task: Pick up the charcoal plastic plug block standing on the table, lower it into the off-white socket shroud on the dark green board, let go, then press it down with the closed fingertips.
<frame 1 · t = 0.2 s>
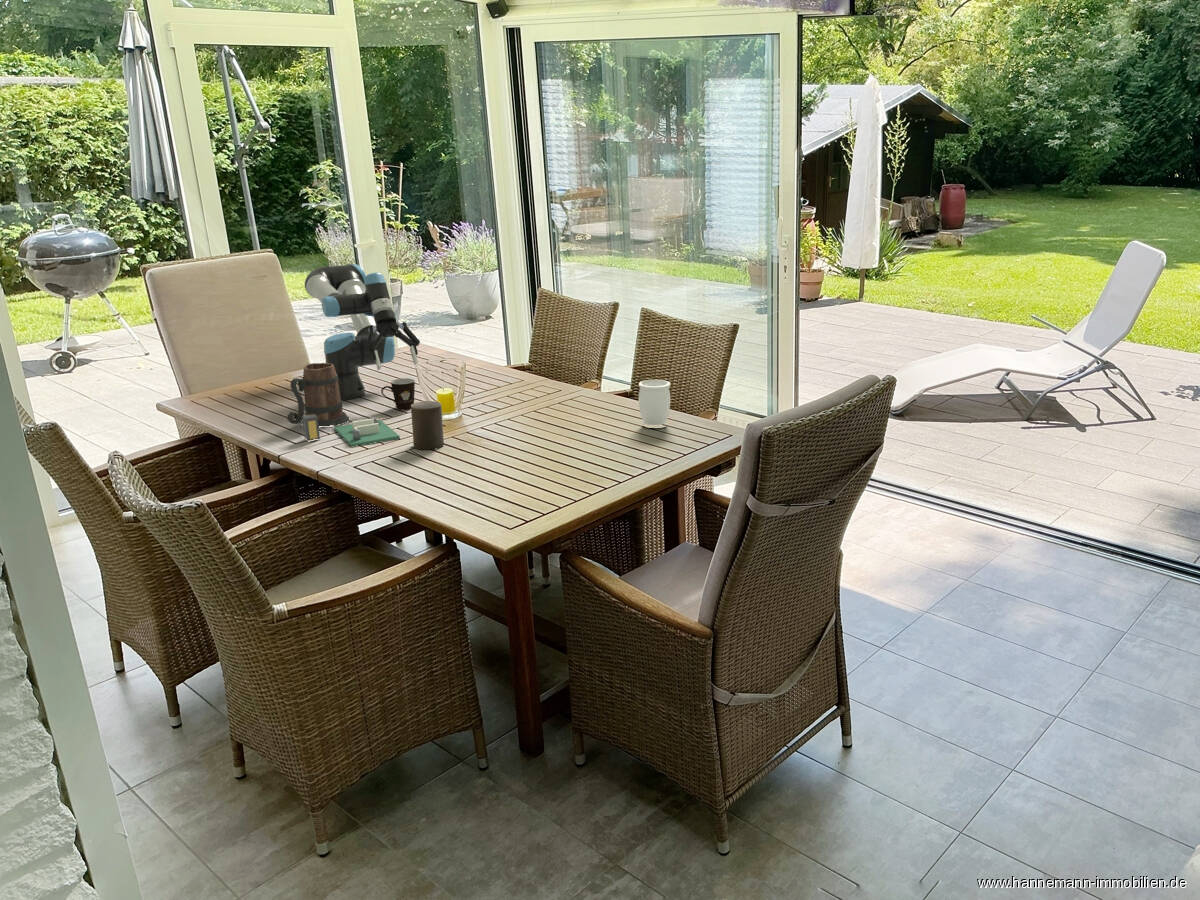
hand: (397, 365, 350), 16 cm above the table, tool tilted 35°, fingers open, 13 cm apart
jar: (654, 426, 326), on the table
tankard: (318, 423, 338), on the table
board: (366, 434, 325), on the table
plug: (312, 439, 321), on the table
pillar candle: (429, 446, 312), on the table
coffee mug: (401, 408, 355), on the table
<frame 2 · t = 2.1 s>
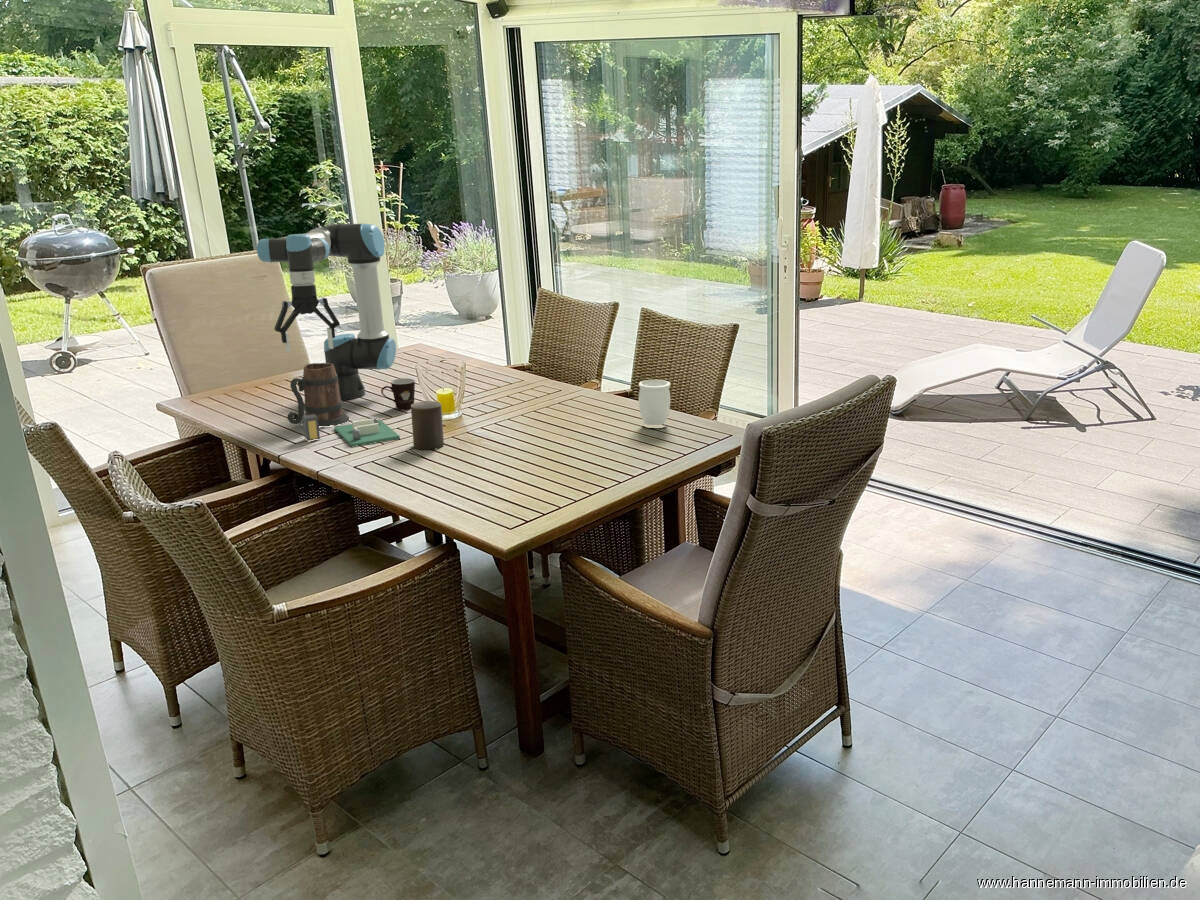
hand: (310, 350, 313), 30 cm above the table, tool pointing down, fingers open, 13 cm apart
nothing on the table moved.
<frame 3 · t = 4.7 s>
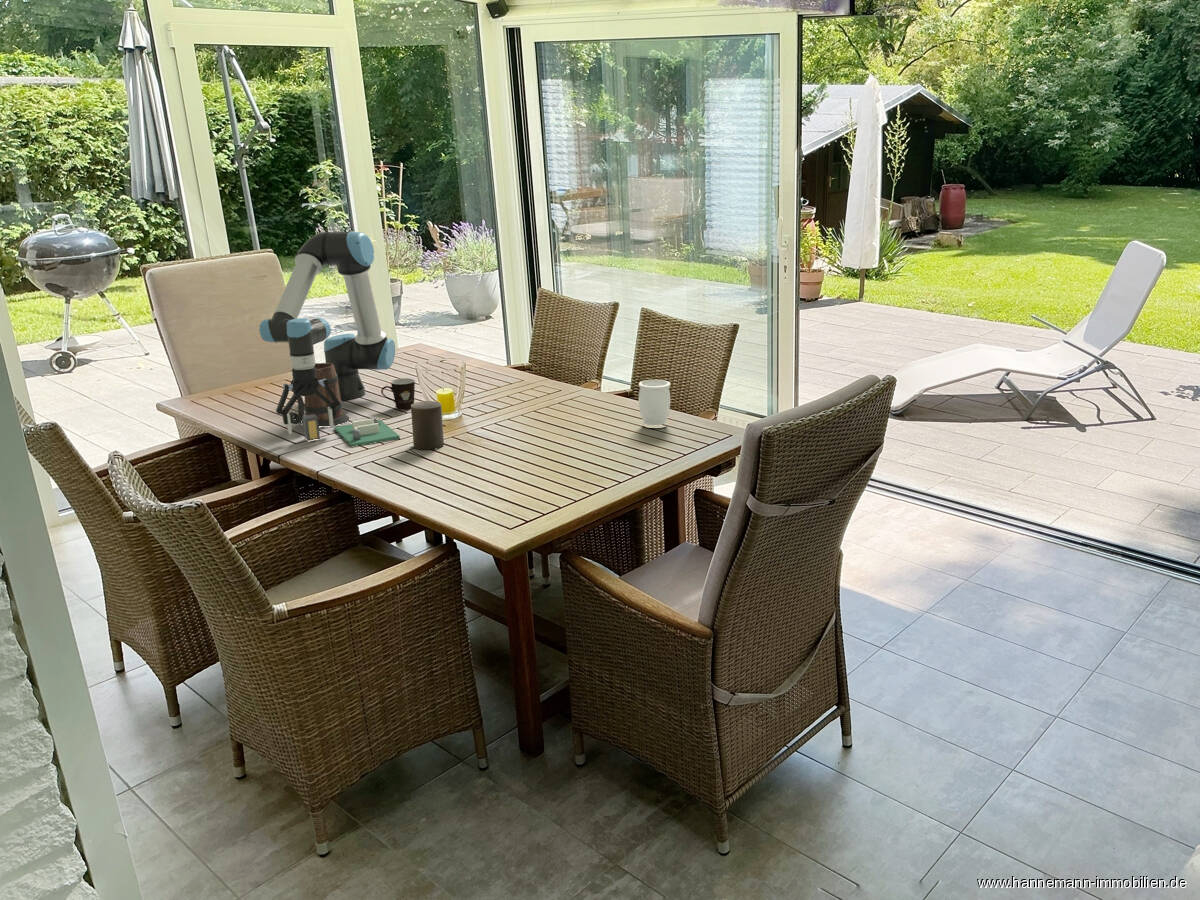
hand: (311, 430, 319), 3 cm above the table, tool pointing down, fingers open, 13 cm apart
nothing on the table moved.
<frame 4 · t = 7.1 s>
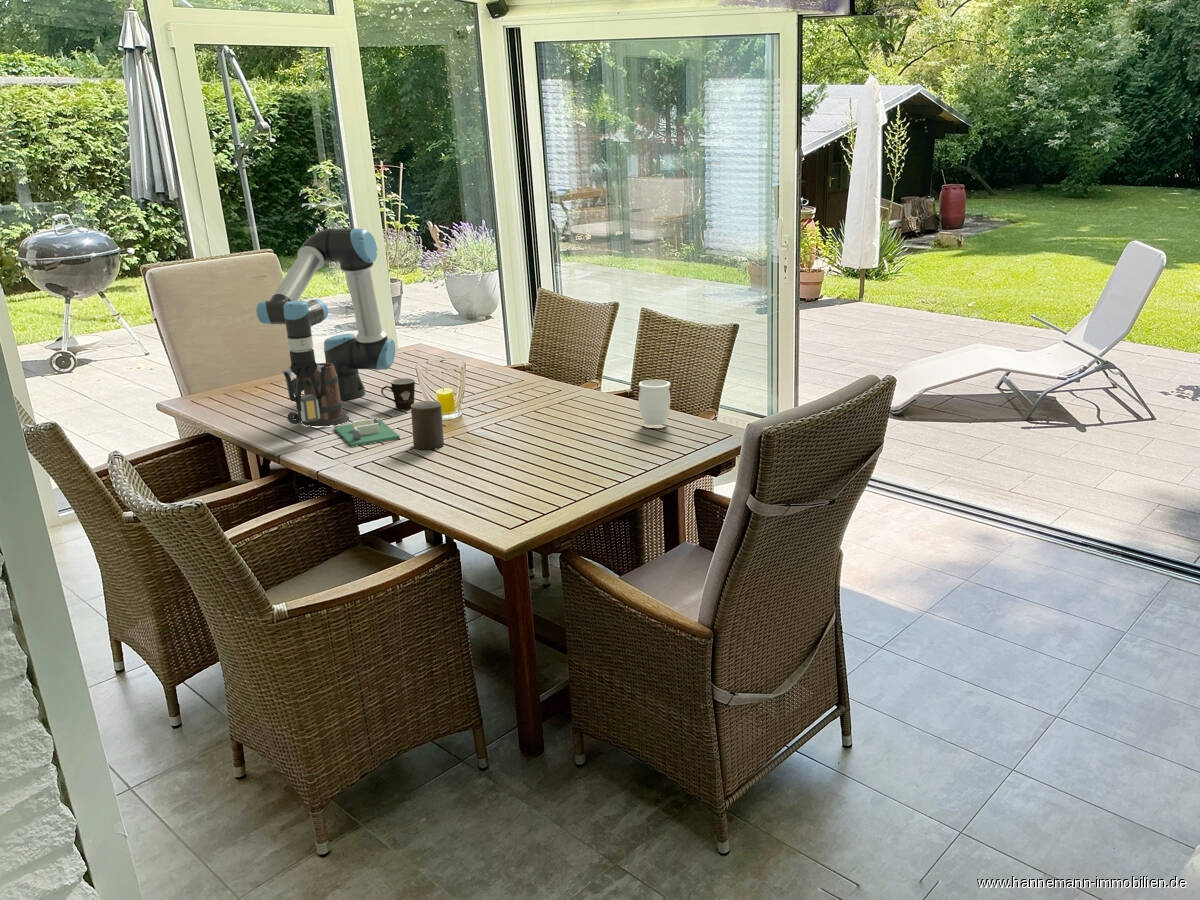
hand: (310, 418, 319), 7 cm above the table, tool pointing down, fingers closed on plug, 4 cm apart
plug: (311, 419, 319), point 7 cm above the table, touching gripper
everything else where it was.
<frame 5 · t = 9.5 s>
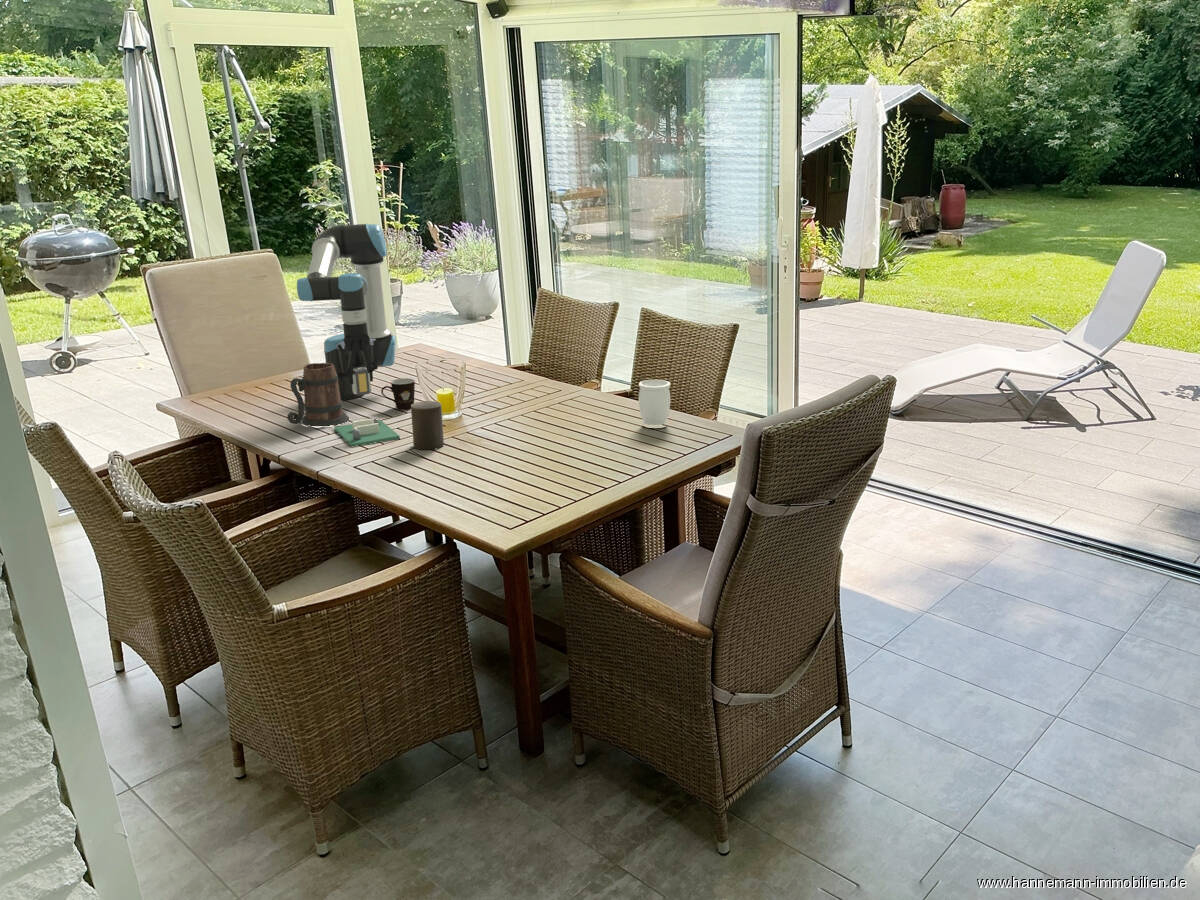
hand: (362, 392, 320), 15 cm above the table, tool pointing down, fingers closed on plug, 4 cm apart
plug: (362, 393, 320), point 14 cm above the table, touching gripper
everything else where it was.
when the fingers open (4 cm above the table, at t = 11.9 s): plug drops 2 cm, resting on board.
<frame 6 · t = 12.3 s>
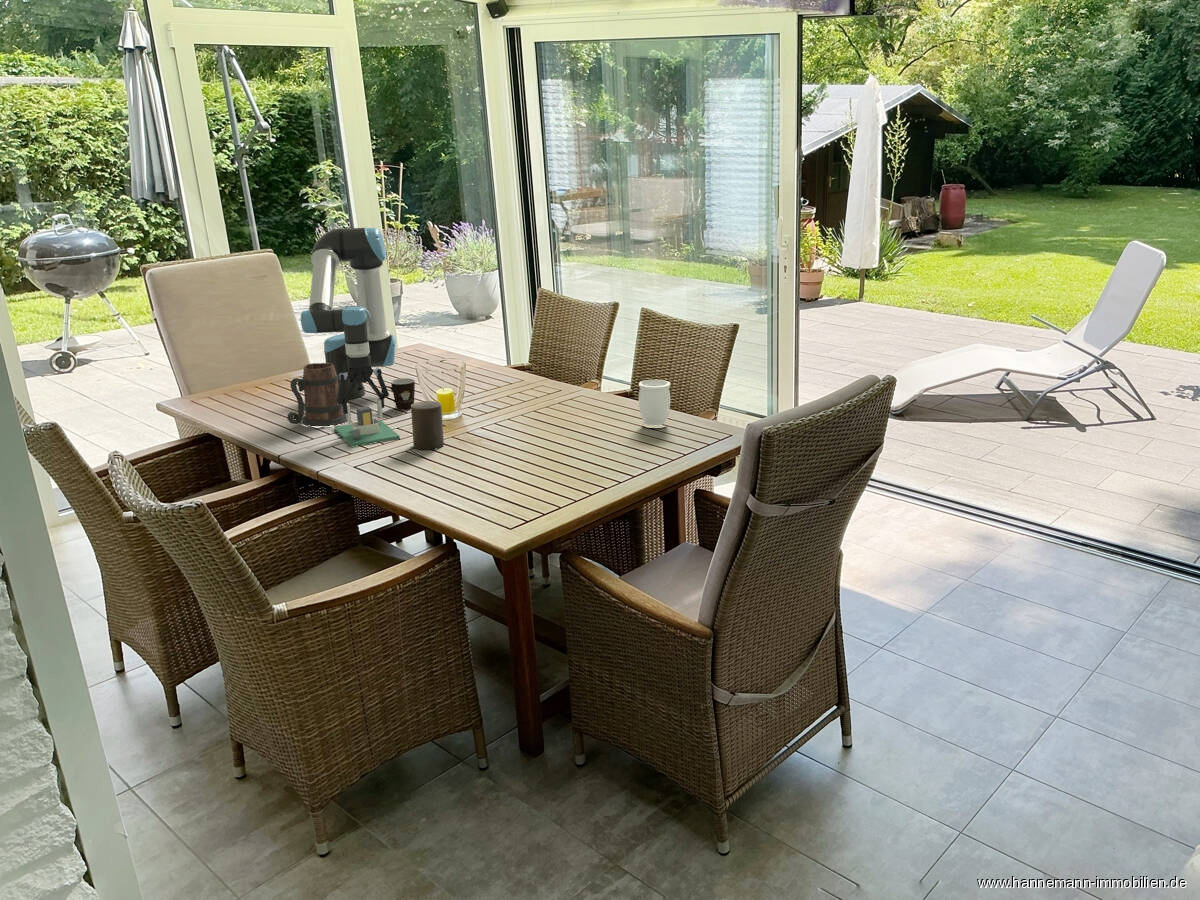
hand: (365, 420, 323), 5 cm above the table, tool pointing down, fingers open, 10 cm apart
plug: (366, 431, 325), point 1 cm above the table, touching board
everything else where it was.
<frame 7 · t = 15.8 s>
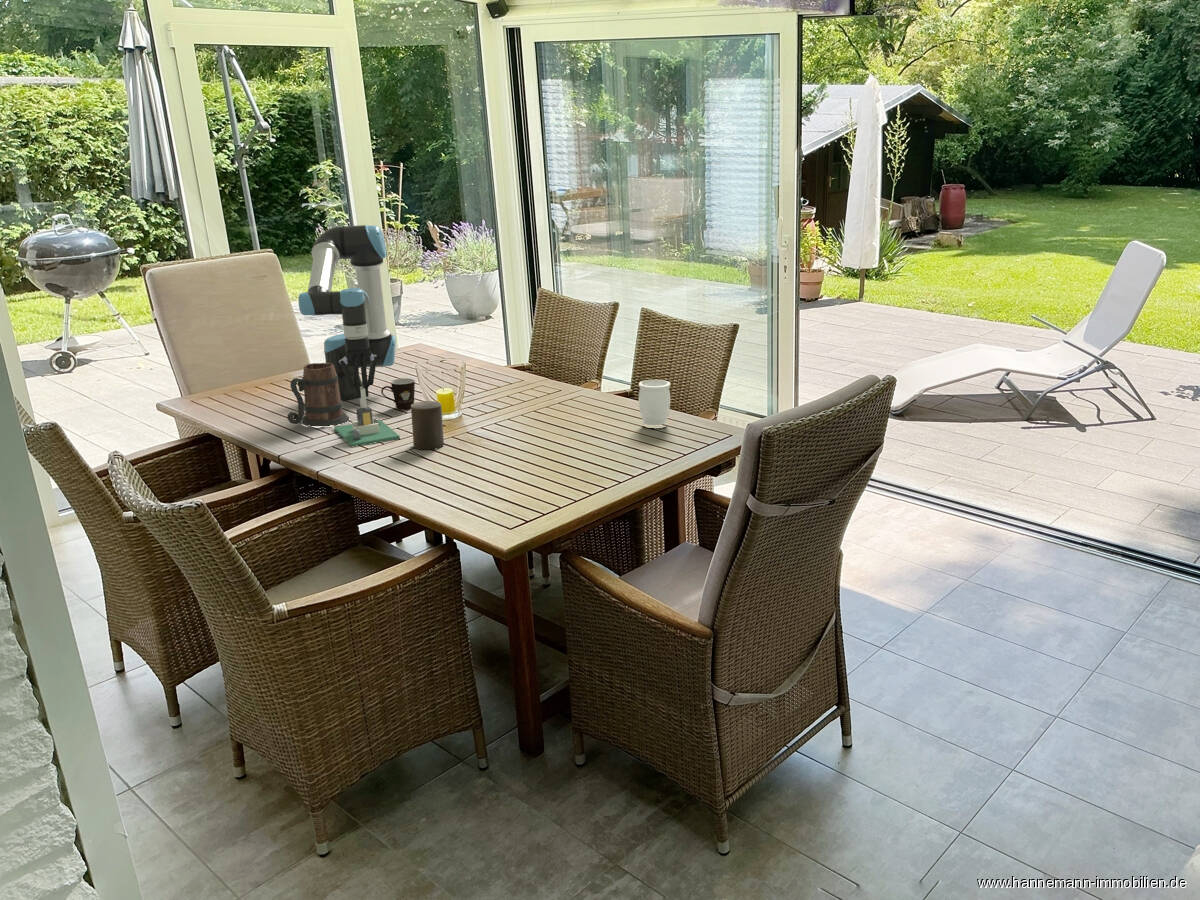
hand: (363, 406, 322), 10 cm above the table, tool pointing down, fingers closed
nothing on the table moved.
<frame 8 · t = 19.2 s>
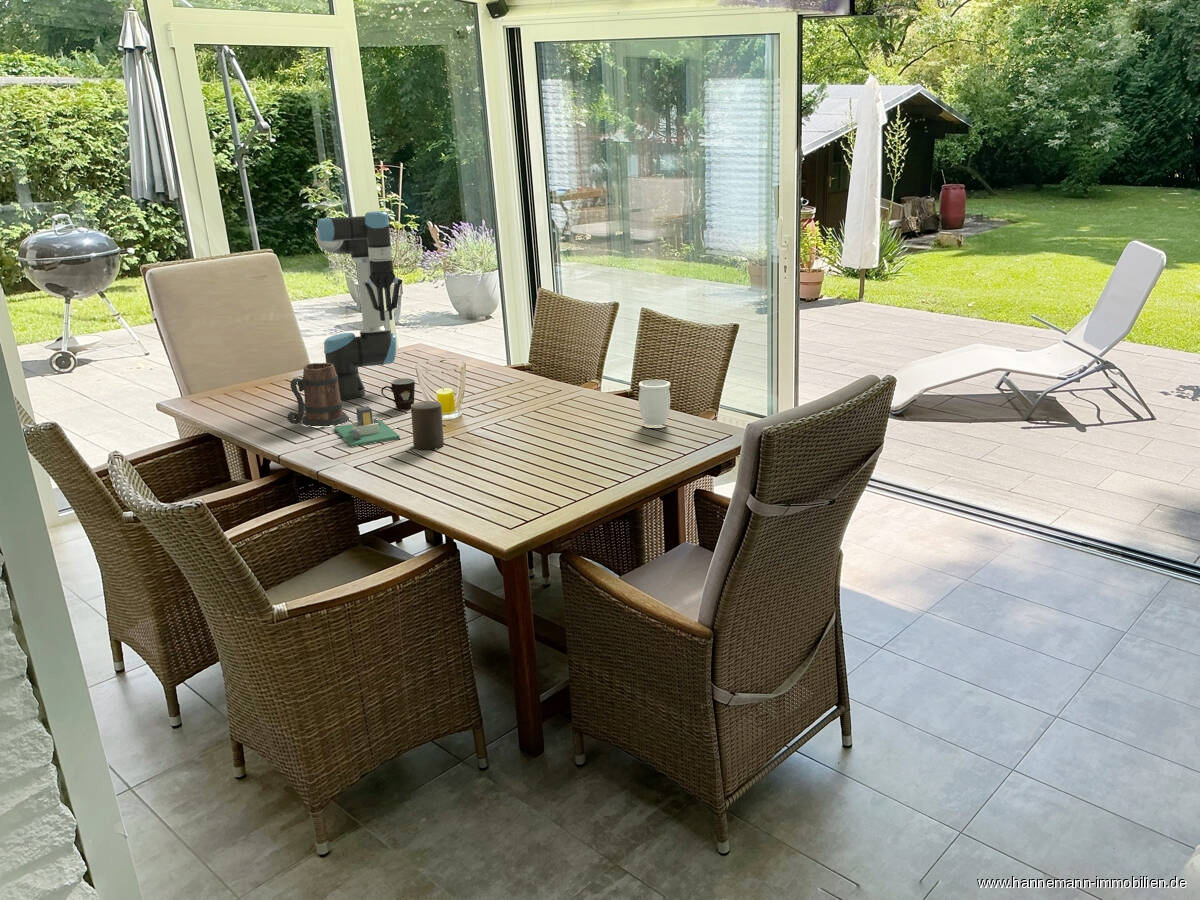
hand: (387, 329, 328), 32 cm above the table, tool pointing down, fingers closed
nothing on the table moved.
at the end: plug 0.0 cm off-centre on the board, point 1.0 cm above the board's base; plug tilted 0°; the gripper is holding nothing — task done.
